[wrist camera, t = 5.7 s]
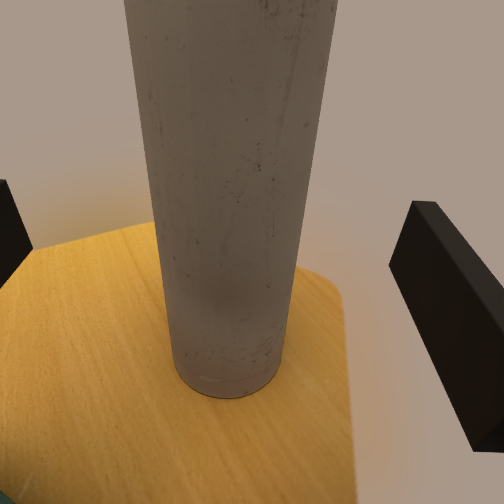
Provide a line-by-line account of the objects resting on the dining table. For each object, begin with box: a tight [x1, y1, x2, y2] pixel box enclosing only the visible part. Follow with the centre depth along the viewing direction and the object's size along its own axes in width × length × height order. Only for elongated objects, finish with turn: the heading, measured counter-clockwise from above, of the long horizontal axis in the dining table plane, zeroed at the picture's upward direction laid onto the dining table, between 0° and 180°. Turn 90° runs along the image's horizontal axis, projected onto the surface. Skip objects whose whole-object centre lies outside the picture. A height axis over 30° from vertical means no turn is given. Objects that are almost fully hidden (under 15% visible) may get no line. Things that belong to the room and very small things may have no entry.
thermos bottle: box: [124, 0, 338, 398], centre depth 18 cm, size 8×8×28 cm
